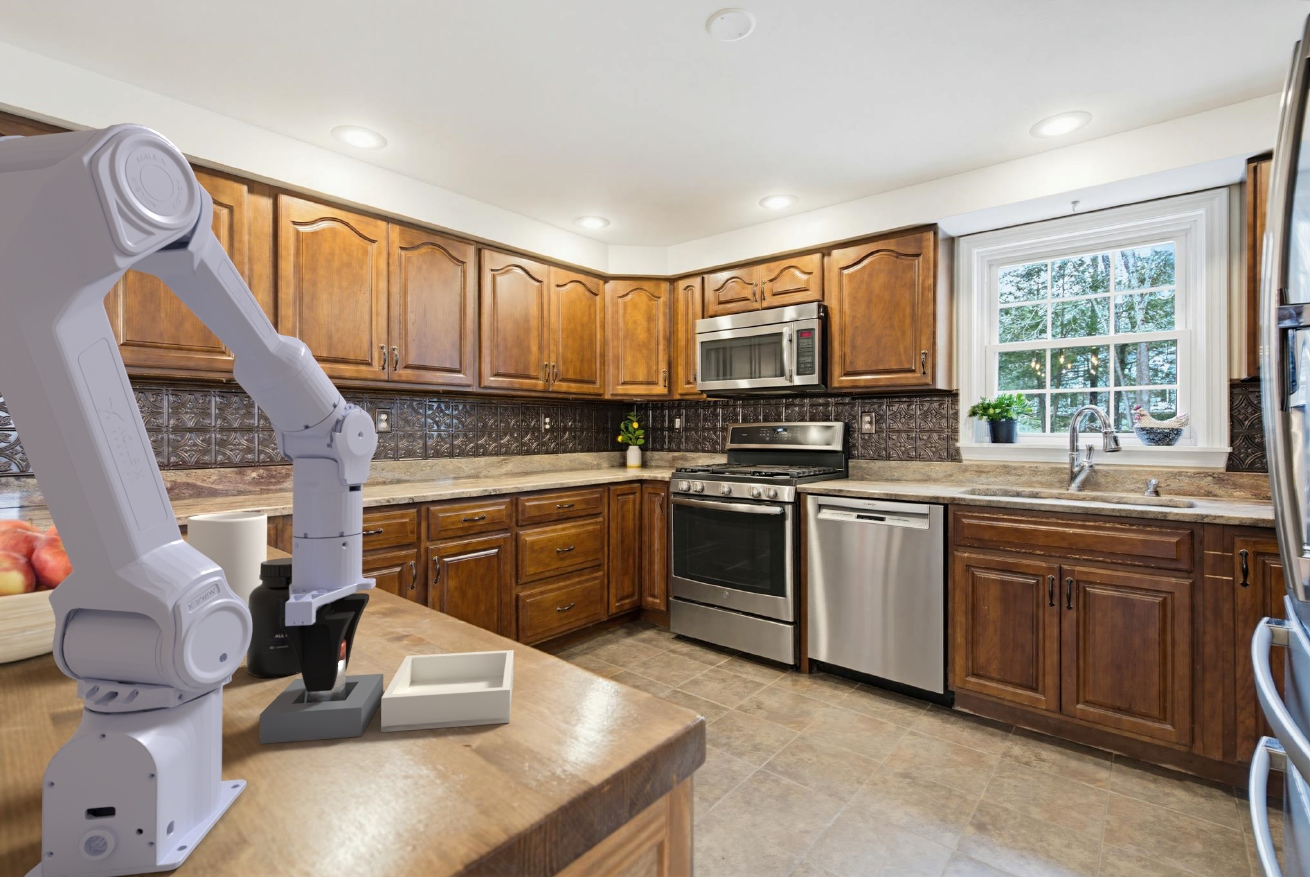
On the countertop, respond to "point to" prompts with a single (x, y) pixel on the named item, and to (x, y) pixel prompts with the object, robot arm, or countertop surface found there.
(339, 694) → the stop pin
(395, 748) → the countertop surface
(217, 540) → the cup
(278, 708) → the gray square holder
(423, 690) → the pin tray
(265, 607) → the supplement bottle
